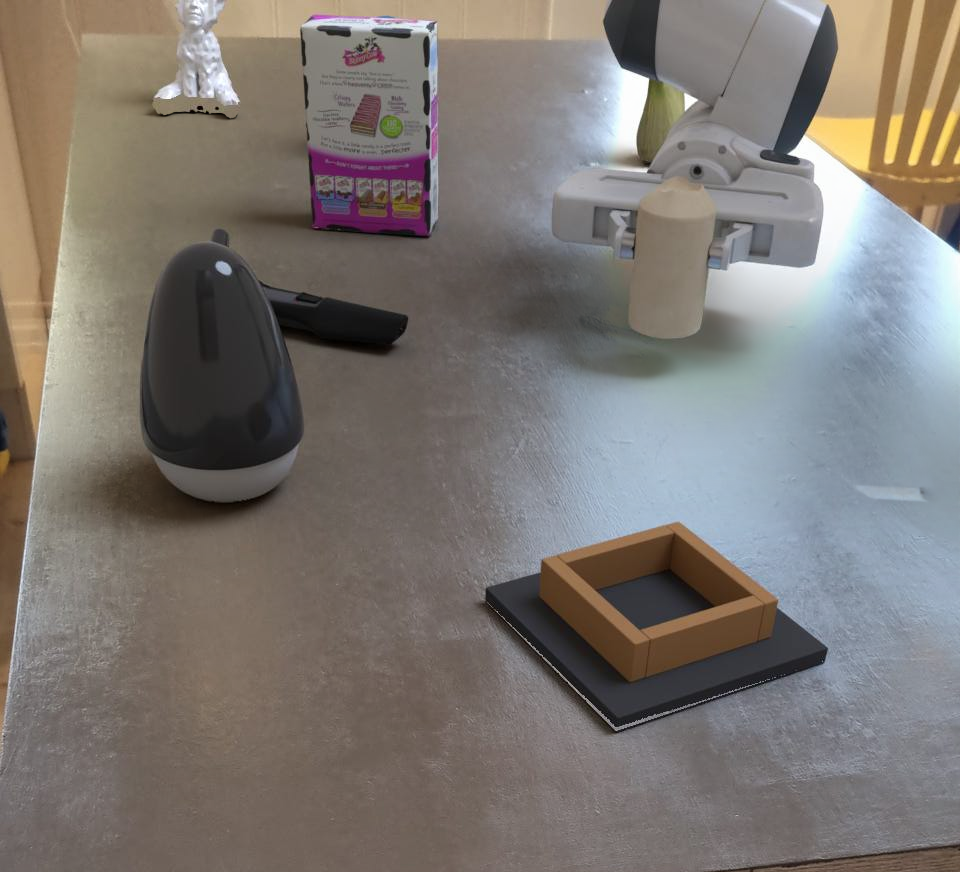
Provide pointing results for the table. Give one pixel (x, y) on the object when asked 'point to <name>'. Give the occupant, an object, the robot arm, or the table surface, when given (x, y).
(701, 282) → the candle
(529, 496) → the table surface
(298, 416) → the grey white egg shape
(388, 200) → the candy bar box
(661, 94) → the fennel bulb
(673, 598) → the dock
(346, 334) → the electric trimmer
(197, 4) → the sitting furry creature
